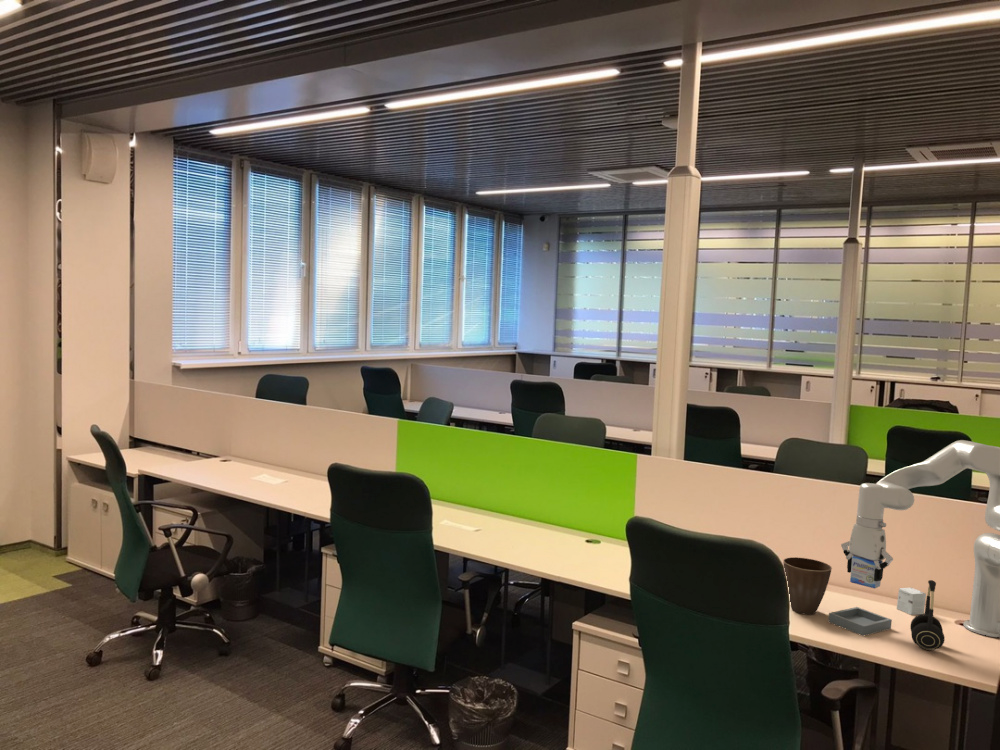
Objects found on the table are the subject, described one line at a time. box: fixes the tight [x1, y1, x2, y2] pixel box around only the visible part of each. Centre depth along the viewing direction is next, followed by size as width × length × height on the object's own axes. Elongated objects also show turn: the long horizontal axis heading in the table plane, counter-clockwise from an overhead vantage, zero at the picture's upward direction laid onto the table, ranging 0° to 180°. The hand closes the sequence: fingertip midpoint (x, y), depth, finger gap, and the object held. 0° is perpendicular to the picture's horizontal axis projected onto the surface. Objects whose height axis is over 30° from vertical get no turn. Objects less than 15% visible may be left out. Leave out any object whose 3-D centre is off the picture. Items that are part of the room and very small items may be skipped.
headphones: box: [909, 579, 946, 651], centre depth 229 cm, size 9×15×20 cm, turn 154°
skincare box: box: [896, 587, 927, 616], centre depth 261 cm, size 6×6×7 cm
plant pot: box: [782, 556, 833, 616], centre depth 253 cm, size 15×15×16 cm
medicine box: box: [849, 555, 882, 589], centre depth 243 cm, size 8×4×9 cm, turn 43°
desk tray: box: [827, 606, 893, 637], centre depth 243 cm, size 12×15×3 cm
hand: (864, 576), depth 243 cm, fingers closed on medicine box, 8 cm apart
